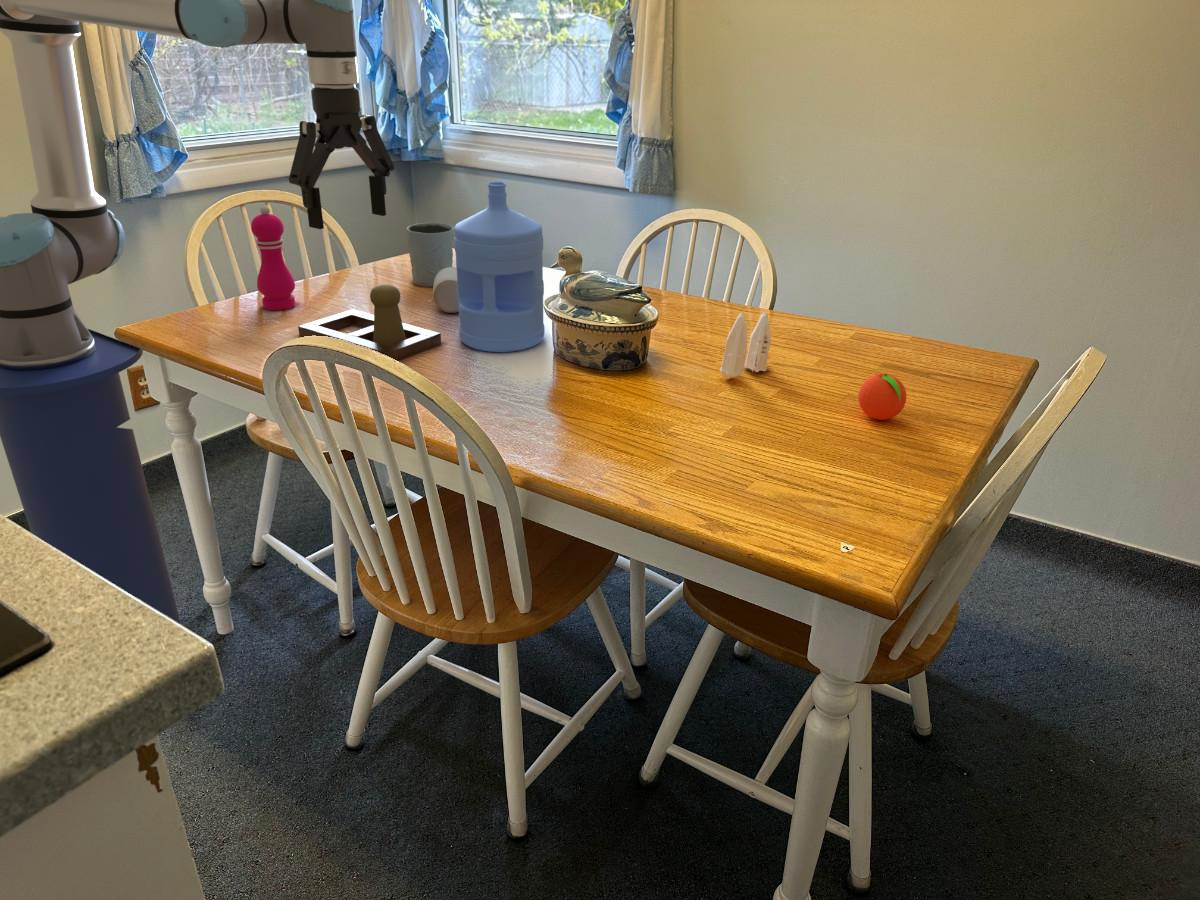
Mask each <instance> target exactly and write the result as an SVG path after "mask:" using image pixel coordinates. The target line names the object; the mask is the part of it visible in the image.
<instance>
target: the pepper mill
mask: <svg viewBox="0 0 1200 900" xmlns="http://www.w3.org/2000/svg"><path fill="white" fill-rule="evenodd" d="M259 212H260V213H259V214H258V215H256V216H254V217H253V219H252V220H251V222H250V223H251V224H250V228H251V232H252V234H253V235H254V236H255V237H256V238H257V239H256V240H255V242H256V248H258V249H259V252H260V258H261V261H260V267H259V271H258V274H257V279H256V288H257V290H258V291H259V293H260V294H261V295H263V297H262V298H261V302H262V303H261V304H262V307H263V309H264V310H267V311H283V310H289V309H292V308H293V307H295V306H296V300H295V299H296V298H295V295H293V294H292V293H293V292H294V291H295V288H296V282H295V278H294V276H293V273H292V272H291V271H290V269H289V267H287V264H286V262H285V260H284V257H283V247H284V239H283V237H282V236H283V234H284V231H285V226H284V223H283V221H282V220H281V218H280V217H279V216H278V215H277V214H272V213H271V210H270V208H269V207H268V206H267V205H262V206H260V209H259Z"/></svg>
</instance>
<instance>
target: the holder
mask: <svg viewBox="0 0 1200 900" xmlns="http://www.w3.org/2000/svg"><path fill="white" fill-rule="evenodd" d="M402 324H403V329H404V333H405V337H406V340H404V341H401V342H398V343H395V344H393V345H390V346H385V345H382V344H379V343H375V342H373V332H374V314H371V313H369V312H365V311H360V310H357V309H353V308H352V309H349V310H346V311H343V312H338V313H336V314H333V315H329V316H327V317H323V318H320V319H317V320H314V321H310V322H308V323H307V322H306V323H304V324H301V325H297V330H298V335H299V336H298V337H301V338H303V337H304V336H312V335H316V336H328V337H333V338H337V339H341V340H345V341H348V342H351V343H354V344H356V345H360V346H364V347H367V348H370V349H372V350H375V351H378V352H380V353H382V354H385V355H387V356H389V357H391V358H393V359H395V360H397V361H400V360H403V359H406V358H407V357H411V356H412V355H415V354H418V353H420V352H421V353H422V352H423V351H425V350H428V349H431V348H434V347H435V346H438V345H442V333H441V332H437V331H433V330H430V329H427V328H423V327H419V326H416V325H412V324H409V323H405V322H402ZM352 325H353V326H356V327H360V328H361V329H358V330H355V331H352V332H349V333H344V332H341V331H337V330H340V329H343V328H346V327H349V326H352Z"/></svg>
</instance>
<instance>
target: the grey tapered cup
mask: <svg viewBox="0 0 1200 900" xmlns="http://www.w3.org/2000/svg"><path fill="white" fill-rule="evenodd" d="M454 228H455V227H453V226H452V225H450V224H448V223H447V224H446V223H441V222H423V223H421V222H420V223H414V224H410V225H408V226H407V227H406V236H407V242H408V250H409V258H410V259H409V260H410V266H411V276H412V277H411V278H412V282H413V284H414V285H416V286H419V287H425V288H433V286H434V279H435V277H436V275H437V274H438V272H439V271H441V270H442V269H444V268H447V267H453V263H454V261H453V257H454V253H453V251H454V250H453V249H454Z"/></svg>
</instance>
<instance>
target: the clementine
mask: <svg viewBox="0 0 1200 900" xmlns="http://www.w3.org/2000/svg"><path fill="white" fill-rule="evenodd" d="M906 390H907V389H906V387H905V386H904V384H903V382H902V381H901V380H900V379H898V378H897V377H896V376H894V375H893V374H888V373H877V374H875V375H872V376H870V377H868V378H867V379H866V380H864V381H863V383H862V384H861V386H860V388H859V392H858V399H857V401H858V404H859V407H860V409H861V410H862V412H863V413H864V414H865V415H867V416H868V417H869V418H871V419H873V420H879V421H887V420H890V419H892V418H894V417H897V415H899V414H900V413H901V412H902V410H903V409H904V408H905V405H906V402H907V391H906Z"/></svg>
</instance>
